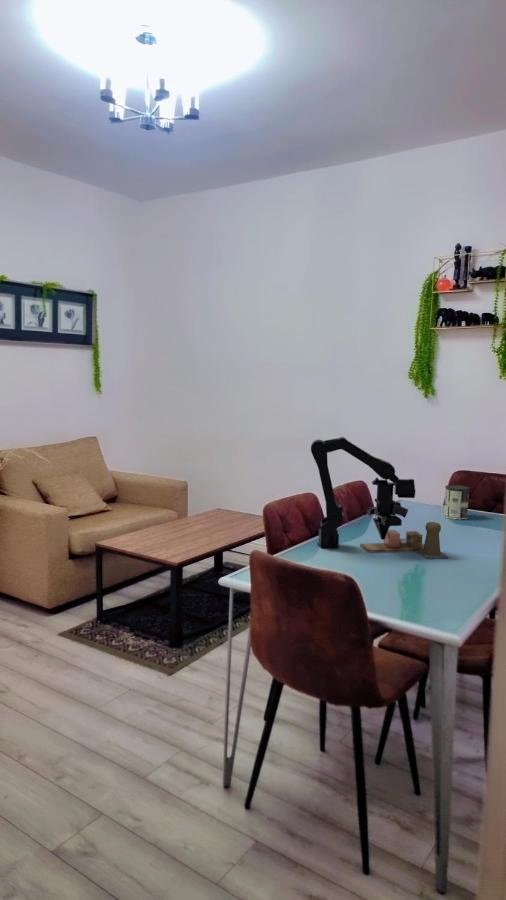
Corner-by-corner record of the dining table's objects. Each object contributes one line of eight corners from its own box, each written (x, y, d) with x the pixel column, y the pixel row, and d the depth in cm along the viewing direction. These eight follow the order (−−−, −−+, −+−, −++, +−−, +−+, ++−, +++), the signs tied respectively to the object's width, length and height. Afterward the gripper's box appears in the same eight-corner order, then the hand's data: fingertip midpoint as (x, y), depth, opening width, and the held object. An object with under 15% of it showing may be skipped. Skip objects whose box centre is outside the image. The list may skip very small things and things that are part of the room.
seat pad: (426, 559, 204) (426, 556, 204) (416, 552, 212) (416, 550, 211) (448, 558, 205) (448, 556, 205) (437, 551, 213) (437, 549, 213)
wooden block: (388, 547, 212) (389, 533, 212) (383, 543, 217) (384, 530, 217) (415, 546, 214) (415, 533, 213) (409, 543, 219) (410, 529, 218)
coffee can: (462, 515, 273) (464, 485, 272) (470, 520, 263) (472, 489, 261) (440, 514, 273) (442, 484, 272) (447, 519, 263) (449, 488, 262)
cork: (443, 555, 206) (445, 524, 204) (427, 555, 205) (428, 524, 204) (436, 550, 212) (437, 520, 210) (419, 550, 211) (421, 520, 209)
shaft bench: (367, 552, 210) (368, 536, 209) (360, 546, 218) (360, 531, 217) (431, 551, 214) (431, 535, 213) (421, 544, 221) (422, 529, 221)
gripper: (417, 502, 204) (414, 546, 206) (395, 491, 223) (393, 532, 225) (386, 502, 203) (384, 546, 205) (367, 492, 221) (365, 532, 223)
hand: (382, 539), depth 214 cm, fingers closed, pressing on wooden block
